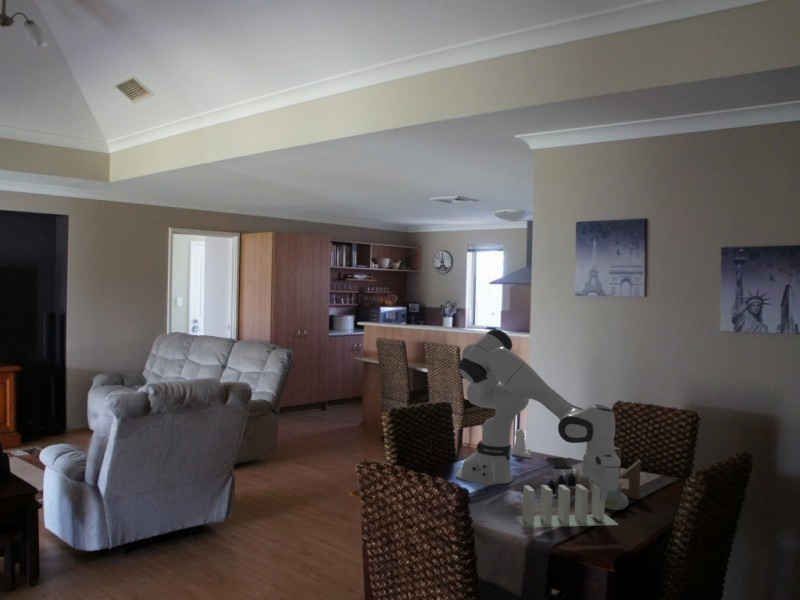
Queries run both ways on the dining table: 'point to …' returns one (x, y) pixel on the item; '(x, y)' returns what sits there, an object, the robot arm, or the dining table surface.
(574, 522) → the domino board
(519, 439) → the sitting furry creature
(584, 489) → the domino
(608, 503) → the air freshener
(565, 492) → the domino
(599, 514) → the domino
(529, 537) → the dining table surface
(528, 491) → the domino
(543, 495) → the domino
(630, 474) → the wooden block
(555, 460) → the phone
